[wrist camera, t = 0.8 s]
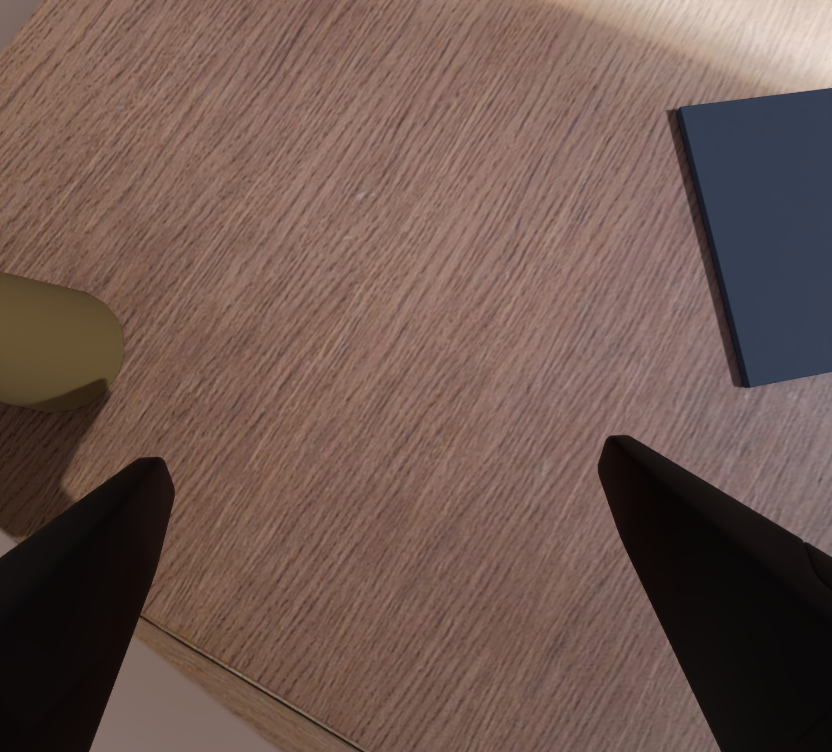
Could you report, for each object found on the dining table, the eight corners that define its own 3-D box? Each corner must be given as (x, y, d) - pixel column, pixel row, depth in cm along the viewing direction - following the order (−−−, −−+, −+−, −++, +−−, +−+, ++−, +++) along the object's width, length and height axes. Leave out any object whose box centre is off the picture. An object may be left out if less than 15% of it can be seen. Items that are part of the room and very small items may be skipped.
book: (967, 344, 26) (976, 343, 26) (744, 388, 25) (750, 387, 24) (891, 84, 28) (898, 79, 27) (675, 111, 26) (680, 106, 26)
